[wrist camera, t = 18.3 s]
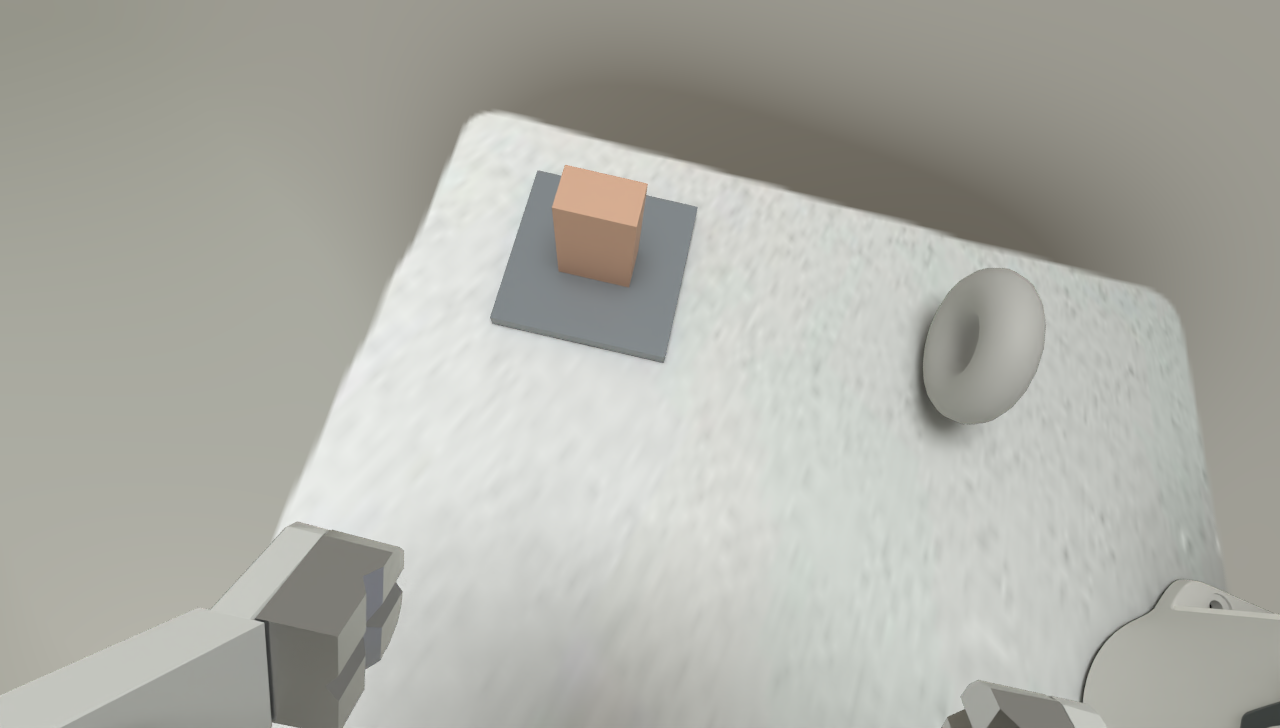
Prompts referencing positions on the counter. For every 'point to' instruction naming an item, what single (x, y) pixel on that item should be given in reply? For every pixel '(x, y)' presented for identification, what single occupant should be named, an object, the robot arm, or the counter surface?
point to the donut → (984, 346)
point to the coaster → (596, 281)
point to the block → (598, 225)
